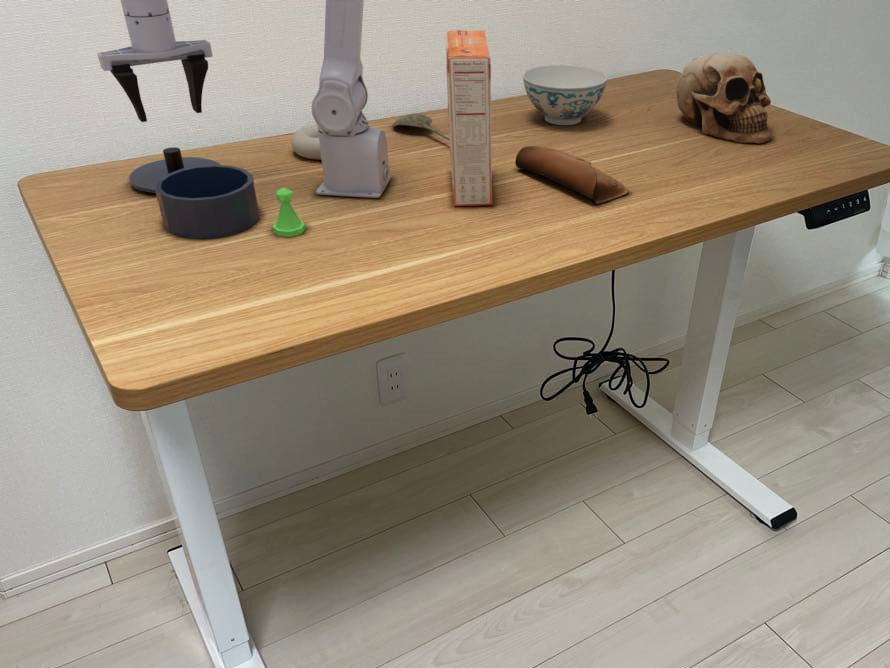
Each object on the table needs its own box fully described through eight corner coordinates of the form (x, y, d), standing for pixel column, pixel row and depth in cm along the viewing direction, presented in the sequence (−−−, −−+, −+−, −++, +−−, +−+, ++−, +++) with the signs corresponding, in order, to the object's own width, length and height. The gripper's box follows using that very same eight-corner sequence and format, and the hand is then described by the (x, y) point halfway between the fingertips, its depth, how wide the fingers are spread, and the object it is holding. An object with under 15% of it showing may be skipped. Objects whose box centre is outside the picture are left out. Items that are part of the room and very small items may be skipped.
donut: (282, 160, 135) (341, 165, 133) (278, 139, 133) (338, 143, 131) (307, 140, 143) (363, 144, 141) (304, 119, 141) (361, 123, 139)
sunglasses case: (634, 189, 127) (621, 156, 121) (603, 222, 125) (589, 190, 120) (553, 155, 138) (539, 124, 132) (525, 185, 136) (509, 155, 131)
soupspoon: (418, 123, 153) (387, 132, 150) (416, 104, 151) (384, 113, 148) (488, 155, 138) (454, 164, 135) (486, 134, 136) (452, 144, 133)
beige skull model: (771, 145, 145) (777, 62, 138) (669, 145, 149) (670, 65, 142) (772, 120, 157) (779, 44, 150) (679, 121, 162) (680, 46, 155)
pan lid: (225, 161, 134) (220, 132, 131) (223, 193, 124) (217, 162, 121) (135, 167, 131) (127, 137, 128) (125, 200, 121) (117, 169, 118)
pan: (258, 198, 122) (252, 161, 119) (259, 234, 113) (252, 195, 110) (168, 205, 120) (159, 168, 116) (161, 242, 110) (151, 203, 107)
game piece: (272, 225, 115) (265, 183, 111) (304, 222, 116) (298, 180, 112) (273, 238, 112) (266, 195, 108) (307, 235, 113) (301, 192, 109)
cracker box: (449, 171, 132) (444, 29, 120) (488, 171, 133) (487, 29, 120) (451, 207, 121) (446, 54, 109) (493, 207, 122) (492, 54, 109)
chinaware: (606, 134, 148) (610, 88, 144) (521, 131, 148) (522, 86, 144) (601, 107, 160) (604, 65, 156) (522, 105, 160) (523, 63, 156)
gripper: (192, 1, 119) (212, 100, 127) (82, 12, 112) (110, 116, 120) (208, 11, 114) (227, 112, 122) (94, 23, 107) (122, 130, 115)
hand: (170, 115), depth 121 cm, fingers open, 7 cm apart
